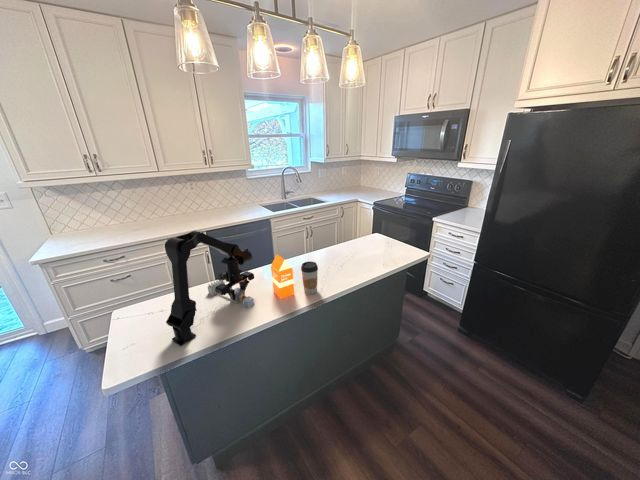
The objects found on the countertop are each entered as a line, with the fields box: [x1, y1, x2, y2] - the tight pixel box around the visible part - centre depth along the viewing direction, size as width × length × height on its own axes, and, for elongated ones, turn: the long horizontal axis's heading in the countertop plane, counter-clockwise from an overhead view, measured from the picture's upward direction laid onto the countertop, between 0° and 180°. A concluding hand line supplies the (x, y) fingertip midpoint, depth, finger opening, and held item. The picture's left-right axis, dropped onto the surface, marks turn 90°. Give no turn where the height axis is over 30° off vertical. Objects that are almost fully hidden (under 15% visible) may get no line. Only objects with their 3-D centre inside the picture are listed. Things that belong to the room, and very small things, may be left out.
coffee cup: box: [300, 261, 319, 295], centre depth 128 cm, size 8×8×15 cm
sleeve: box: [229, 287, 246, 304], centre depth 124 cm, size 5×5×4 cm
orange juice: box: [270, 254, 295, 300], centre depth 127 cm, size 8×9×20 cm
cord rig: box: [207, 279, 255, 309], centre depth 127 cm, size 28×8×5 cm, turn 56°
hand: (238, 297), depth 125 cm, fingers closed on sleeve, 5 cm apart
